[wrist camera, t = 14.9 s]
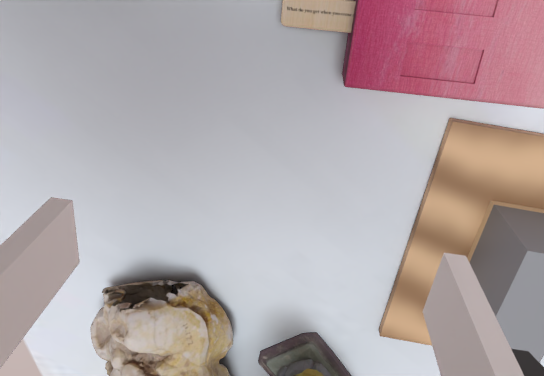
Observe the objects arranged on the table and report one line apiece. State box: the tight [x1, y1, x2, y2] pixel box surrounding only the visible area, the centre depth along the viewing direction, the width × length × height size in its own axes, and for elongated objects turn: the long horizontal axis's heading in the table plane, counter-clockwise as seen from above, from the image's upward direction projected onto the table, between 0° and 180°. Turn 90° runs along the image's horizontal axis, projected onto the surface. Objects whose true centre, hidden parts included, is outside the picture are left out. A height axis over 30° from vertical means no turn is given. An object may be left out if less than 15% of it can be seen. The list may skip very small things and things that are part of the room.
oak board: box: [379, 118, 544, 345], centre depth 43 cm, size 24×14×1 cm, turn 172°
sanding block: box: [467, 200, 544, 363], centre depth 39 cm, size 11×5×8 cm, turn 171°
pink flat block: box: [281, 0, 544, 108], centre depth 33 cm, size 9×5×20 cm
